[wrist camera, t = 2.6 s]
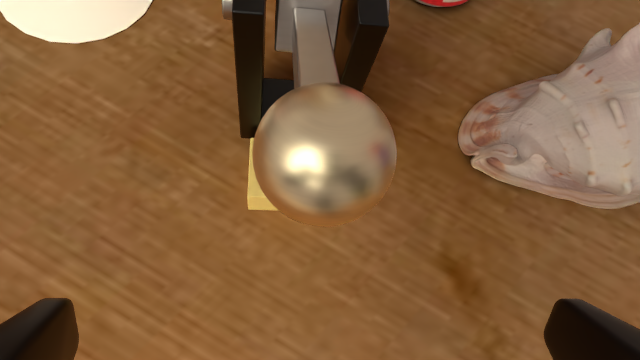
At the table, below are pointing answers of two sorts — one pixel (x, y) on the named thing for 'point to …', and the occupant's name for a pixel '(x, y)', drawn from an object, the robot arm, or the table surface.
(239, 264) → the table surface
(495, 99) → the seashell
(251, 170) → the butter
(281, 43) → the ball-tipped lever
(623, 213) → the table surface
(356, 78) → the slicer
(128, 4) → the wineglass
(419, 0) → the soda can
